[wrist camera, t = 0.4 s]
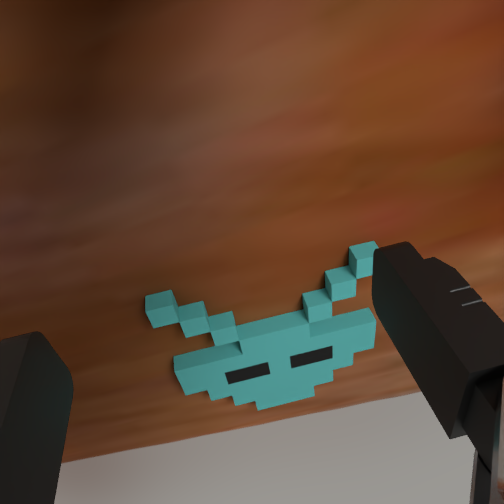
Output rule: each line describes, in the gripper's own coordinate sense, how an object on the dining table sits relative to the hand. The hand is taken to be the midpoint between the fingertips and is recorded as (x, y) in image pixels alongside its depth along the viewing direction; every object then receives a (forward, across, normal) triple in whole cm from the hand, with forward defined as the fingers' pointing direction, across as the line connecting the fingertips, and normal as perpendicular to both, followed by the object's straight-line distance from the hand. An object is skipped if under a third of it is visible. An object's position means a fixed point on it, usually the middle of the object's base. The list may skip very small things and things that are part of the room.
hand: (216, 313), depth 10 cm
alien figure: (+20, -3, +26) cm, 33 cm away
